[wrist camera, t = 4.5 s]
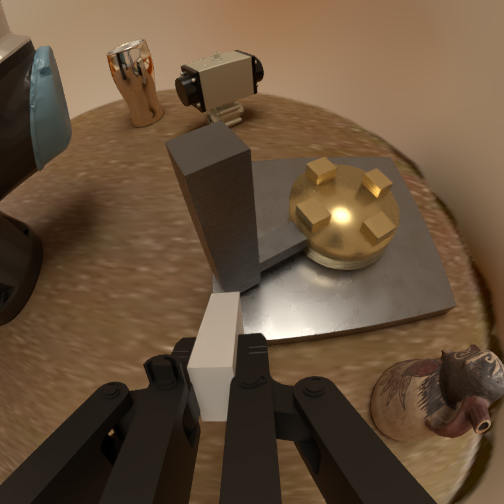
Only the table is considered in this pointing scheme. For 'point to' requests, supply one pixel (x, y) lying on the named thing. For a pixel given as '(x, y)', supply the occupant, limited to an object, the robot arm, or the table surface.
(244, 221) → the metal fixture
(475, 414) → the figurine
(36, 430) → the table surface
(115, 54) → the beer glass
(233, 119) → the pneumatic valve
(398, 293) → the base plate
